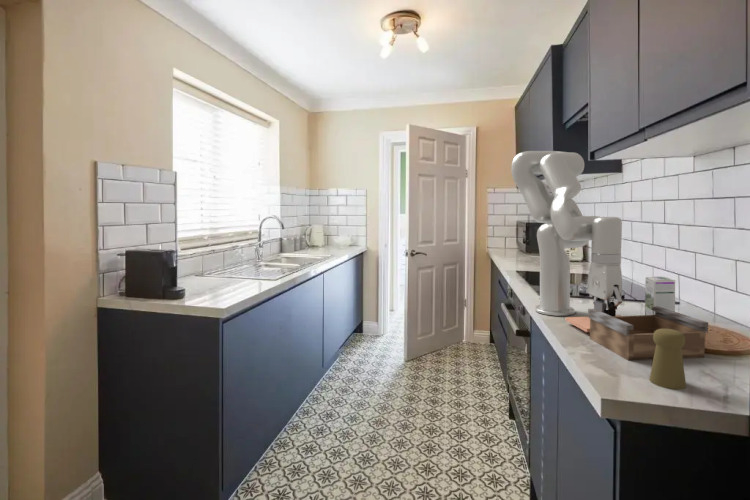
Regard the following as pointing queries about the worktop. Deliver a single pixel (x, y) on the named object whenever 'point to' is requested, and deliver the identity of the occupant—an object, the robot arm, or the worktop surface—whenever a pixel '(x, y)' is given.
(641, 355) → the box
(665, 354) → the cork
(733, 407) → the worktop surface
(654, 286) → the syrup box
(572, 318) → the lid
